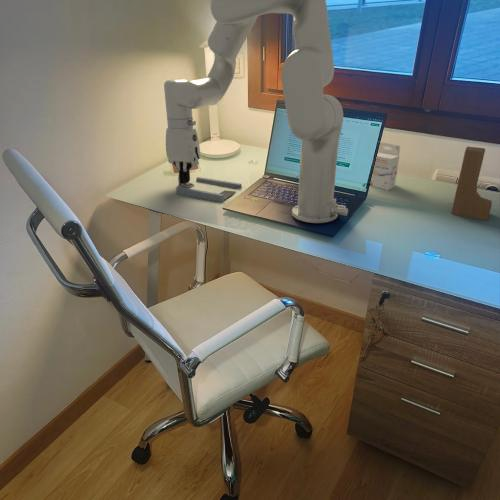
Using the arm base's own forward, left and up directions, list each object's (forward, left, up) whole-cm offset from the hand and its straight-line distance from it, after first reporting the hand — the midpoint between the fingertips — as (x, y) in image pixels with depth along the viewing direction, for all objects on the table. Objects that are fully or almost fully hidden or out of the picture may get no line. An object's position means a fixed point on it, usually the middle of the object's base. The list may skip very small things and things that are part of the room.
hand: (185, 182), depth 140 cm
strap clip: (+2, -2, -2) cm, 3 cm away
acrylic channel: (-9, 0, -2) cm, 9 cm away
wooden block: (-83, -15, -2) cm, 84 cm away
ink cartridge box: (-56, -24, -2) cm, 61 cm away
